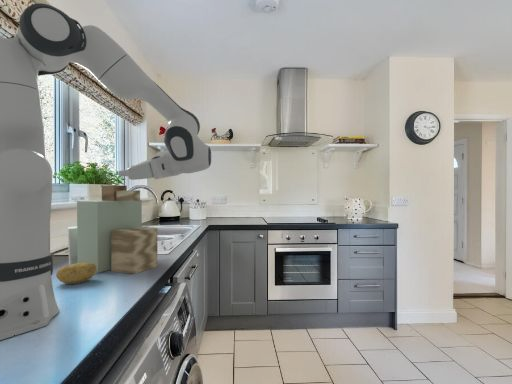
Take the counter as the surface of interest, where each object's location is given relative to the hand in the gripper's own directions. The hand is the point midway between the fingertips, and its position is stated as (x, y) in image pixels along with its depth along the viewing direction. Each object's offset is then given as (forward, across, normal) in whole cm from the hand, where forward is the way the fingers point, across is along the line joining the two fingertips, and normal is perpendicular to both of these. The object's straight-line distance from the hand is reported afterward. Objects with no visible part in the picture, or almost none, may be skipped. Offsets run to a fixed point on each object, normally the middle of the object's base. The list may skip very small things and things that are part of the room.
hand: (126, 171), depth 97 cm
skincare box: (+33, -8, +36) cm, 49 cm away
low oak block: (+8, -1, +38) cm, 38 cm away
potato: (+19, +15, +32) cm, 40 cm away
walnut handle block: (+10, -11, +13) cm, 20 cm away
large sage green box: (+20, -7, +37) cm, 43 cm away
